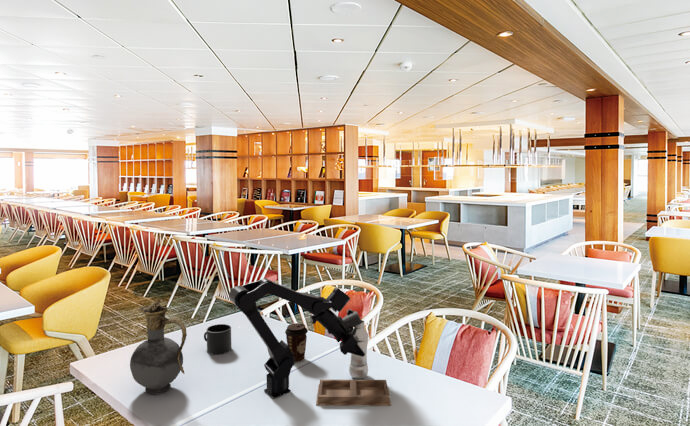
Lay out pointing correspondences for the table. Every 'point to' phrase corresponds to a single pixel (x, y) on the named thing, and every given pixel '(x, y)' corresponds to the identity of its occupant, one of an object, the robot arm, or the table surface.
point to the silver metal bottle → (358, 363)
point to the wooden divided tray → (353, 392)
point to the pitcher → (157, 352)
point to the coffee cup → (297, 340)
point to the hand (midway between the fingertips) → (362, 351)
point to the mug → (218, 339)
